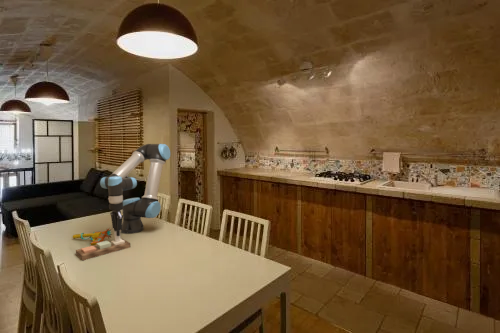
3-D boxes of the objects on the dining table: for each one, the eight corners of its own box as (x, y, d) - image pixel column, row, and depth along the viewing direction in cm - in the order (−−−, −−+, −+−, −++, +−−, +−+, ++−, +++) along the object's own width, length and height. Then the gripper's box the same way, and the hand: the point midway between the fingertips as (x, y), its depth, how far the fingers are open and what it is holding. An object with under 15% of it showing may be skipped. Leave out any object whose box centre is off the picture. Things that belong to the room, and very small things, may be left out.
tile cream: (120, 242, 175) (120, 238, 175) (125, 244, 171) (124, 240, 171) (110, 244, 171) (110, 241, 170) (114, 247, 166) (114, 243, 166)
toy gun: (95, 239, 166) (110, 225, 179) (57, 243, 171) (74, 229, 185) (101, 251, 169) (115, 235, 182) (63, 254, 174) (80, 239, 188)
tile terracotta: (92, 249, 163) (92, 245, 163) (96, 252, 159) (96, 248, 159) (81, 252, 159) (81, 248, 159) (84, 255, 155) (84, 251, 155)
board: (122, 242, 178) (122, 238, 178) (130, 247, 170) (130, 243, 170) (75, 254, 160) (75, 250, 159) (82, 260, 151) (82, 255, 151)
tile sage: (107, 244, 169) (107, 240, 169) (111, 247, 165) (111, 243, 165) (96, 247, 165) (96, 243, 164) (100, 249, 161) (100, 245, 160)
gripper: (105, 201, 170) (107, 239, 172) (113, 205, 161) (115, 245, 163) (118, 199, 175) (119, 236, 177) (126, 203, 166) (128, 241, 169)
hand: (117, 240), depth 170 cm, fingers closed
